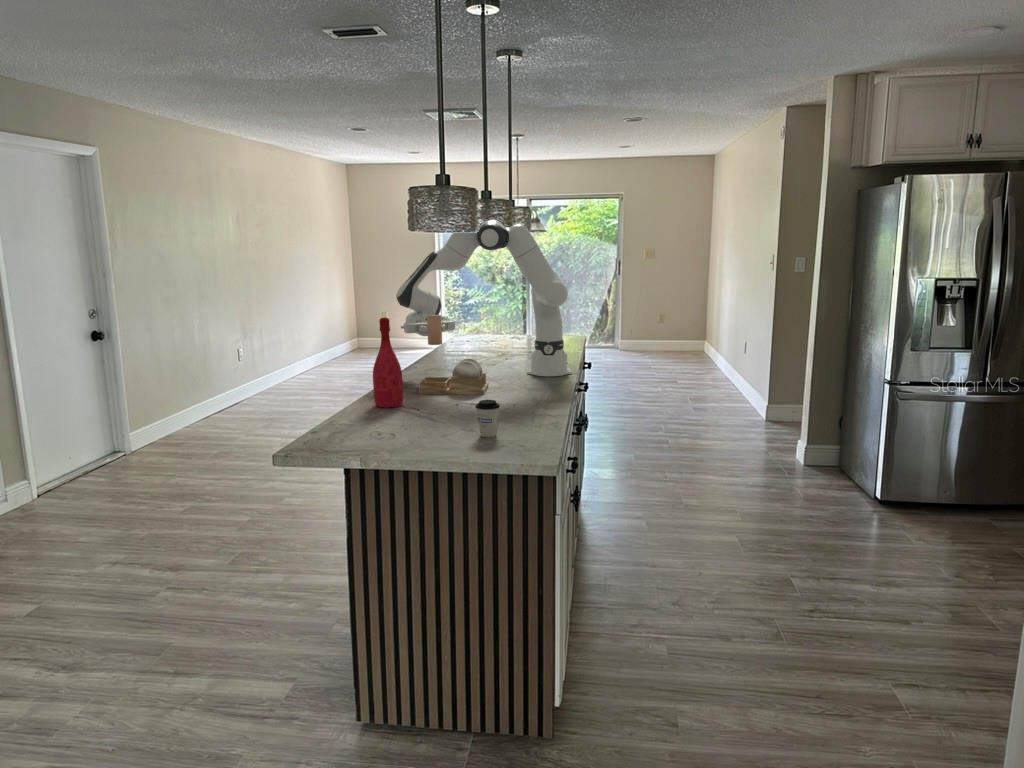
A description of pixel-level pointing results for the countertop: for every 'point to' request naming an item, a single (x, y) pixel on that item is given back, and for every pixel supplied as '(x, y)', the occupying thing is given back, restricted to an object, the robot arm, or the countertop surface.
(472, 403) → the countertop surface
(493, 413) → the coffee cup
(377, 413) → the countertop surface
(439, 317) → the peach rounded cylinder
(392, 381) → the wine bottle
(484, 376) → the rack
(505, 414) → the countertop surface
